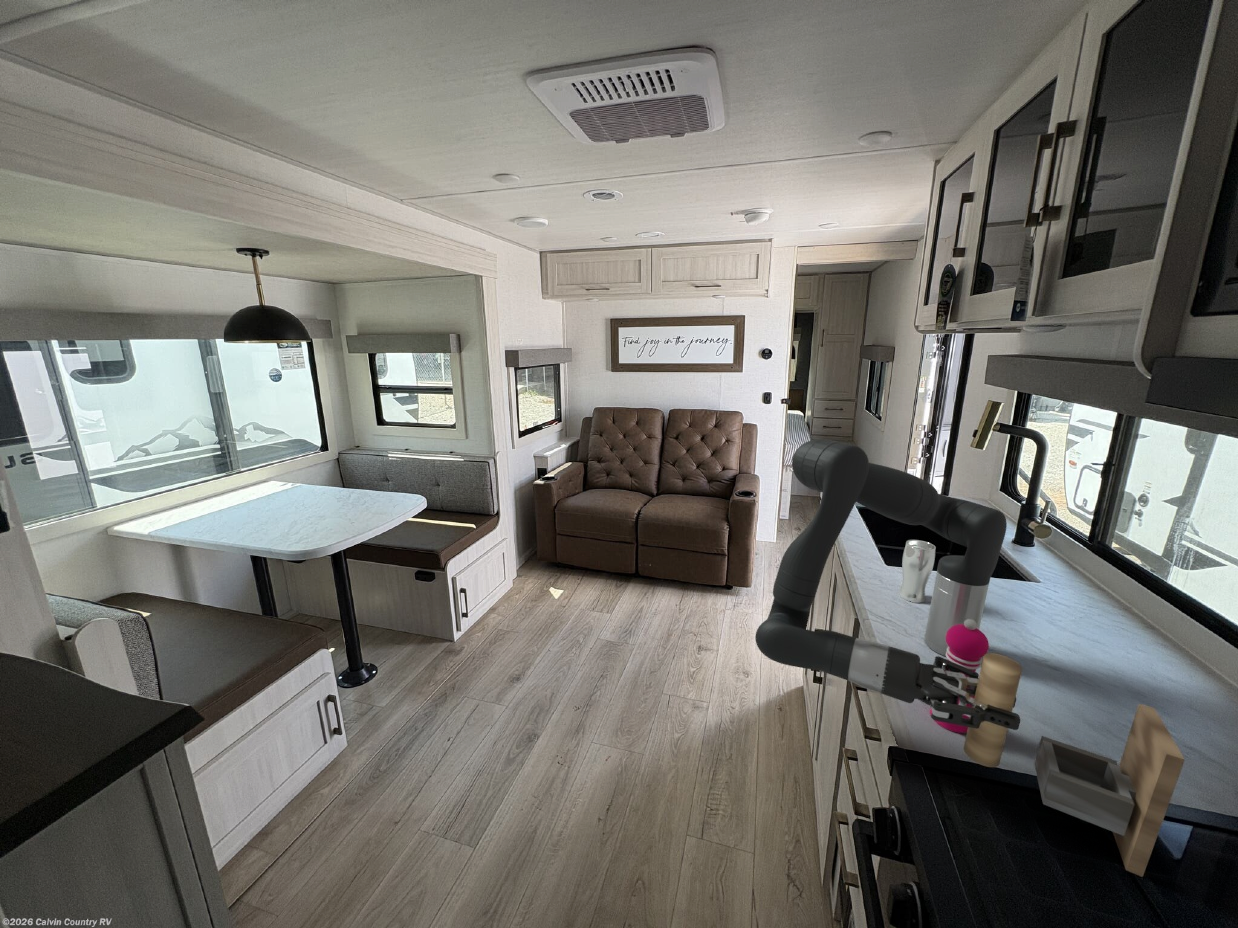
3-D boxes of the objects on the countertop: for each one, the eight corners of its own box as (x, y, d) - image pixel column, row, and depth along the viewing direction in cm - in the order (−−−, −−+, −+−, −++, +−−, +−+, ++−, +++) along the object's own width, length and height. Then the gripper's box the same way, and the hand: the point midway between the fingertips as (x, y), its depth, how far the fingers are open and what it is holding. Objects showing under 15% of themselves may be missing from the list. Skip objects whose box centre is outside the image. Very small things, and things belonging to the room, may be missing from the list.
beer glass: (926, 606, 125) (937, 552, 121) (895, 599, 128) (904, 546, 124) (926, 595, 130) (936, 543, 127) (897, 588, 134) (905, 537, 130)
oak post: (963, 738, 76) (982, 649, 72) (998, 751, 74) (1020, 660, 70) (964, 758, 73) (984, 665, 69) (1000, 772, 70) (1024, 677, 66)
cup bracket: (1027, 779, 75) (1054, 679, 71) (1119, 814, 69) (1154, 708, 65) (1037, 832, 67) (1069, 722, 62) (1142, 876, 61) (1184, 759, 57)
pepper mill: (929, 699, 92) (948, 604, 87) (976, 717, 87) (999, 618, 82) (923, 721, 86) (943, 621, 81) (973, 742, 82) (997, 637, 77)
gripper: (881, 673, 72) (1029, 721, 63) (890, 627, 84) (1016, 662, 75) (874, 715, 74) (1017, 768, 65) (884, 664, 85) (1006, 703, 76)
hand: (1016, 711), depth 70 cm, fingers closed on oak post, 4 cm apart
